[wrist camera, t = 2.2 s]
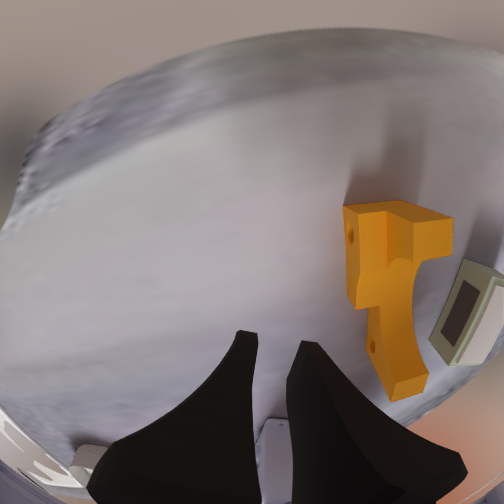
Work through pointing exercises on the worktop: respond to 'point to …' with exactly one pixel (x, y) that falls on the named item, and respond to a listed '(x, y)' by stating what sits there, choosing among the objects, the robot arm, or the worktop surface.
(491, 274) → the pale green block
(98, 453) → the dish
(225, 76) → the worktop surface
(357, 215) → the pipe clamp
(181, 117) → the worktop surface
